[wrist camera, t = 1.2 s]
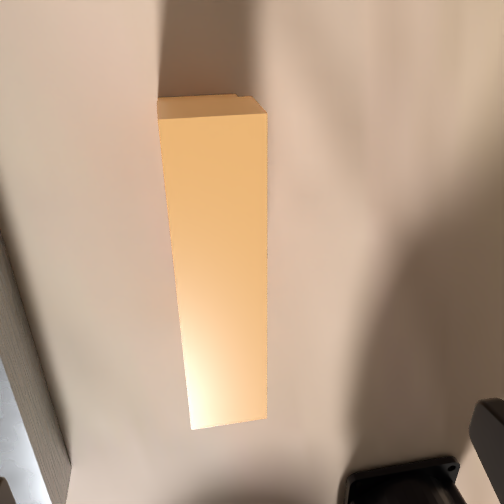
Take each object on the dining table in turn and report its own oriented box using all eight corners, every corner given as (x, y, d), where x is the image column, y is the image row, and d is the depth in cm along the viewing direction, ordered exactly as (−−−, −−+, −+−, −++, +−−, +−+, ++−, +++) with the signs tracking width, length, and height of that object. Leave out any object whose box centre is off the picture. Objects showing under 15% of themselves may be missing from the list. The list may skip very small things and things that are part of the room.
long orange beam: (234, 77, 15) (267, 113, 11) (242, 326, 20) (266, 418, 16) (155, 81, 15) (157, 119, 11) (182, 334, 20) (191, 430, 16)
